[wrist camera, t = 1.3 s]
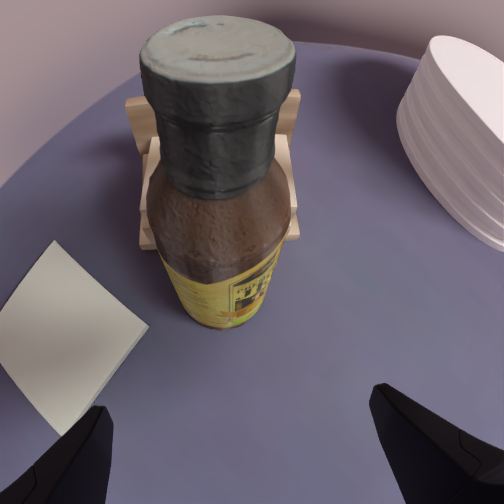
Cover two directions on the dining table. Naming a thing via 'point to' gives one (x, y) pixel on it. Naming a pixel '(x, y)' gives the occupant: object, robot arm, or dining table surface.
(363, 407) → the dining table surface
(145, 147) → the offcut rack
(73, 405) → the cream tile board
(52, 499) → the robot arm
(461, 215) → the plate stack
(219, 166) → the sauce bottle
